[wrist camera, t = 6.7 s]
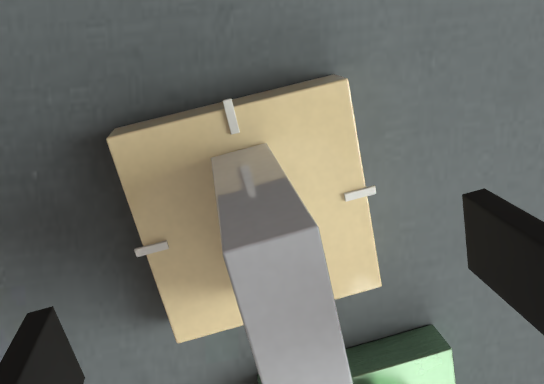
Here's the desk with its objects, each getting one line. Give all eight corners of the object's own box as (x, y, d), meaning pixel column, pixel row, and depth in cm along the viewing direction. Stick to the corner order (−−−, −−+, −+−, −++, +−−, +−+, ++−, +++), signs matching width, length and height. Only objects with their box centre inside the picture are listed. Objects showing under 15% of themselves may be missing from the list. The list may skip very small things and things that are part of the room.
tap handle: (210, 157, 20) (222, 257, 11) (266, 142, 20) (321, 229, 11) (248, 291, 22) (283, 460, 14) (299, 276, 22) (365, 434, 14)
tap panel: (102, 122, 21) (92, 132, 19) (341, 63, 22) (356, 67, 20) (173, 328, 25) (171, 354, 23) (376, 271, 25) (391, 292, 23)
